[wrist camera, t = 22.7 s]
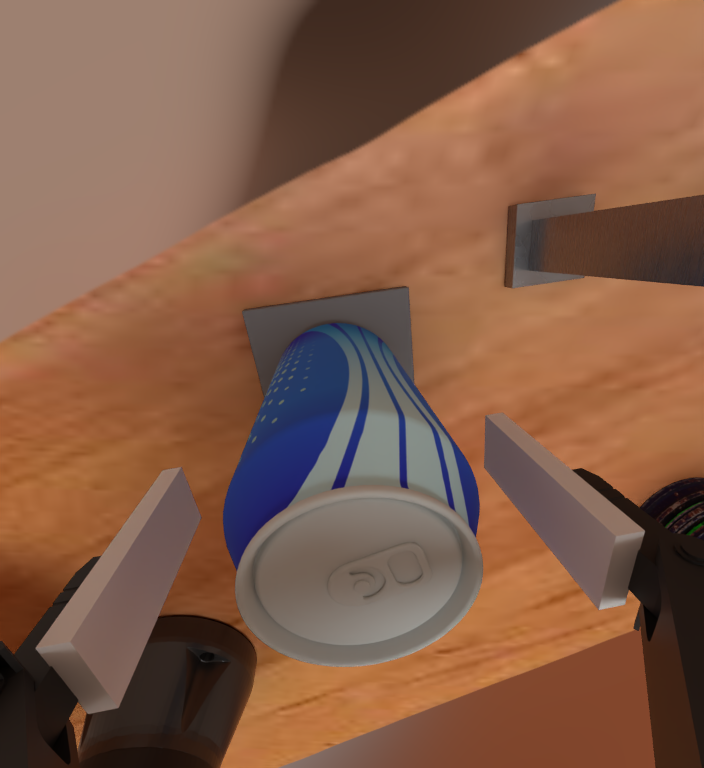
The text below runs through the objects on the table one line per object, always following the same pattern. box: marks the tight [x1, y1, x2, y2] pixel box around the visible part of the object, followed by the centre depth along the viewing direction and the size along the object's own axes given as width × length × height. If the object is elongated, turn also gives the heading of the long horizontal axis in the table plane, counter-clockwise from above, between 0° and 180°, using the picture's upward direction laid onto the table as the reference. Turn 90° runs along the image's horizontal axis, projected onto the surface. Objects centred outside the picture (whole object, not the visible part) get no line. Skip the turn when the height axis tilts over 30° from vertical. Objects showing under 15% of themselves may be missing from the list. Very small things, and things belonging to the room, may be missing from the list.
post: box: [505, 194, 704, 288], centre depth 14 cm, size 5×5×17 cm
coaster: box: [242, 286, 414, 398], centre depth 24 cm, size 11×11×1 cm
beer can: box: [223, 323, 483, 667], centre depth 16 cm, size 8×8×16 cm
